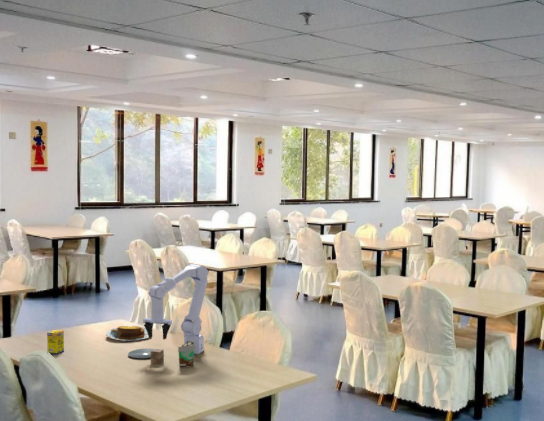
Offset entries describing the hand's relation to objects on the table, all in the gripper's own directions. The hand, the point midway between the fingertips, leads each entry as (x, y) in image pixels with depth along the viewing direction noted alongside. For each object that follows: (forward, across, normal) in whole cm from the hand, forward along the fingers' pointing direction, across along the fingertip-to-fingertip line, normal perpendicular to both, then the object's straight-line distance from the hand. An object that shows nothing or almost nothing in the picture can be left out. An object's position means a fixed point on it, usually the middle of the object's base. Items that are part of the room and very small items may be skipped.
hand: (157, 338), depth 325 cm
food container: (+11, +18, -3) cm, 21 cm away
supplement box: (+11, -55, -4) cm, 56 cm away
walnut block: (+11, +2, -4) cm, 12 cm away
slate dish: (+10, -10, +6) cm, 16 cm away
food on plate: (+11, -35, +35) cm, 51 cm away
